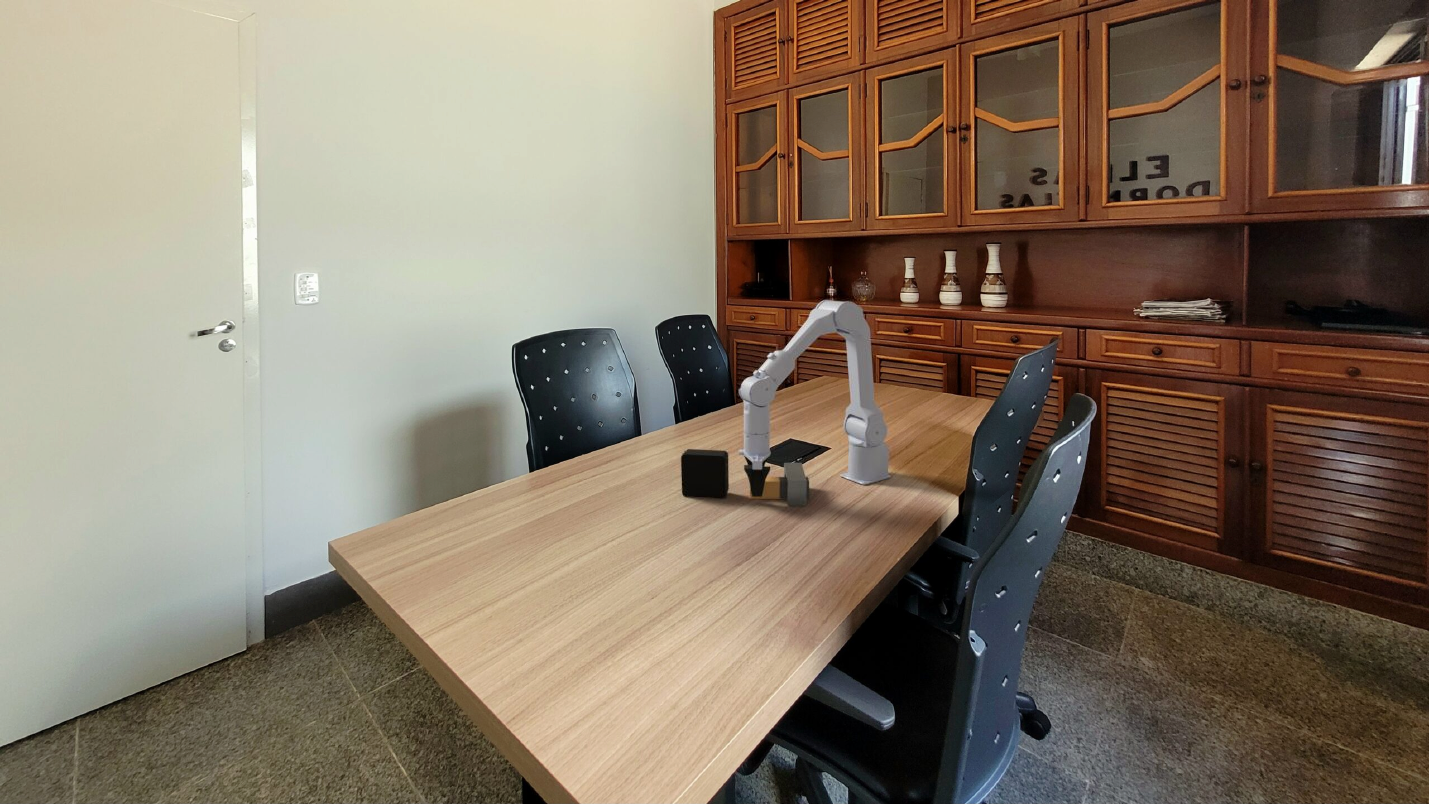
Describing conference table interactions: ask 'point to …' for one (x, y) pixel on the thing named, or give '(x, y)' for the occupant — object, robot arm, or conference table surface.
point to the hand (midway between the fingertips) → (756, 489)
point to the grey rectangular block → (795, 484)
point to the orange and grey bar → (776, 488)
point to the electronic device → (705, 473)
